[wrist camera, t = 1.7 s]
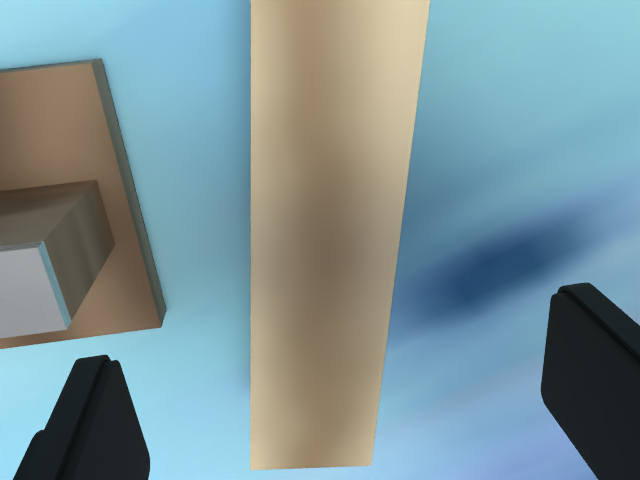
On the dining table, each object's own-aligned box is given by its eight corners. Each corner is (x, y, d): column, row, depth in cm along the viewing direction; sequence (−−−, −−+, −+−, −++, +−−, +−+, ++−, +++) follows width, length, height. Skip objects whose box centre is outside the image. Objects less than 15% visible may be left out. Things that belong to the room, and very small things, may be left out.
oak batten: (401, -131, 20) (452, -176, 15) (351, 380, 30) (370, 465, 25) (254, -144, 20) (251, -196, 14) (252, 382, 30) (250, 470, 24)
